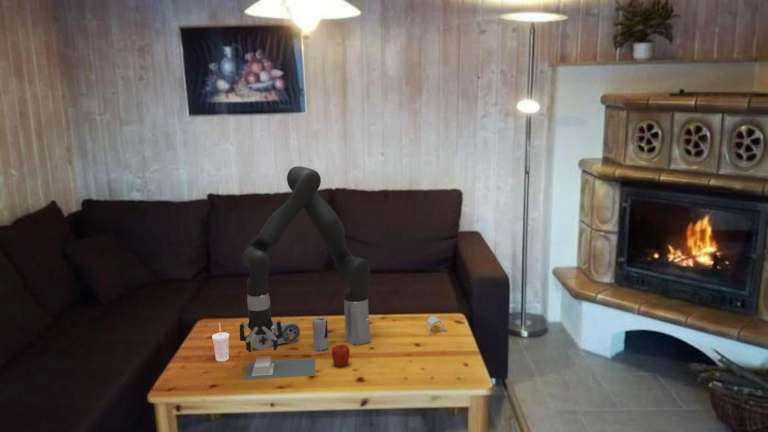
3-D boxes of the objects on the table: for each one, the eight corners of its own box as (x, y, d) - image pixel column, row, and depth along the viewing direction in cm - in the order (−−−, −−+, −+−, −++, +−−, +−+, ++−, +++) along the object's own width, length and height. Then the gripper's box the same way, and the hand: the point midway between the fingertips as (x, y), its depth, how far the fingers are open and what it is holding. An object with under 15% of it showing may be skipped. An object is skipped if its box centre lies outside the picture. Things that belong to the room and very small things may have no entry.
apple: (343, 371, 212) (342, 351, 210) (328, 367, 215) (327, 347, 213) (353, 364, 217) (352, 344, 215) (339, 361, 220) (338, 341, 219)
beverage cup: (215, 363, 220) (212, 326, 218) (212, 357, 226) (209, 321, 223) (232, 359, 223) (230, 323, 221) (228, 353, 229) (226, 318, 226)
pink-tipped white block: (269, 373, 210) (269, 365, 209) (254, 374, 209) (254, 366, 208) (271, 364, 217) (271, 356, 217) (257, 364, 217) (256, 356, 216)
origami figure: (447, 335, 241) (447, 323, 240) (426, 336, 241) (426, 324, 240) (441, 324, 253) (441, 313, 252) (421, 325, 252) (421, 314, 251)
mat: (315, 359, 222) (315, 357, 222) (315, 376, 208) (315, 374, 208) (248, 363, 220) (248, 362, 219) (243, 381, 206) (243, 379, 206)
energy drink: (330, 348, 231) (329, 318, 229) (324, 353, 226) (323, 323, 224) (317, 346, 233) (316, 316, 231) (311, 352, 228) (310, 321, 226)
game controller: (253, 353, 229) (252, 332, 227) (251, 351, 231) (250, 330, 229) (301, 341, 239) (300, 320, 238) (298, 339, 241) (297, 319, 240)
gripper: (236, 311, 205) (240, 356, 208) (279, 308, 206) (282, 353, 209) (239, 303, 212) (243, 347, 215) (280, 301, 213) (284, 344, 216)
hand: (262, 350), depth 212 cm, fingers open, 8 cm apart
